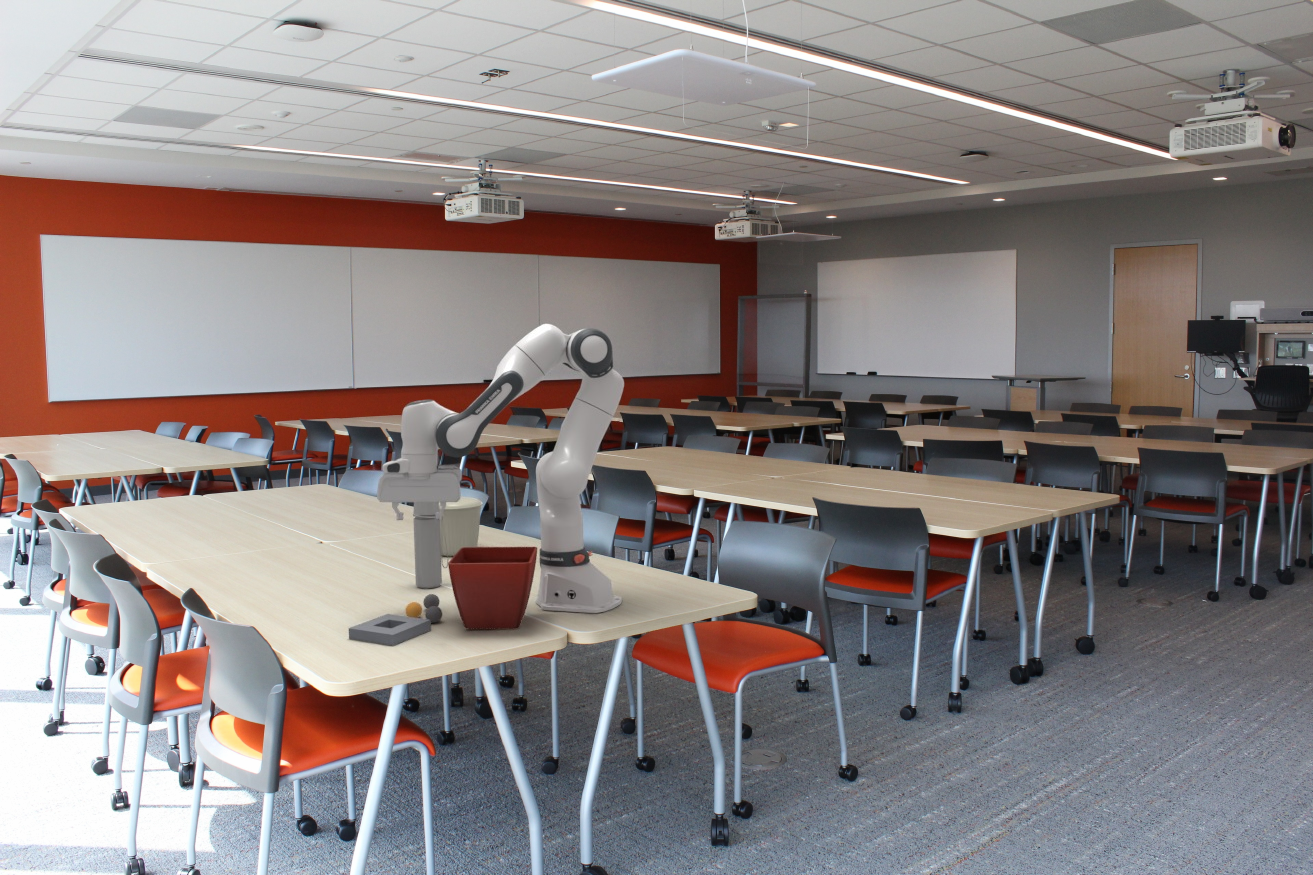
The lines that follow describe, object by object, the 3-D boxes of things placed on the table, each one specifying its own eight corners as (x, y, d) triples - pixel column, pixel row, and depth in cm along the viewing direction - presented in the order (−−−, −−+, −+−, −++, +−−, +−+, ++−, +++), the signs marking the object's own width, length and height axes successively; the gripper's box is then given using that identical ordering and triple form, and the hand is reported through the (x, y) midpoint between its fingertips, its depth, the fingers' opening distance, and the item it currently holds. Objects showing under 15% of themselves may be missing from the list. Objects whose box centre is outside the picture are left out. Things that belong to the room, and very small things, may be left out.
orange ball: (425, 616, 233) (425, 601, 233) (415, 621, 230) (414, 605, 229) (413, 615, 235) (412, 599, 235) (402, 619, 231) (401, 603, 231)
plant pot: (539, 611, 238) (537, 545, 236) (532, 633, 219) (530, 562, 217) (463, 612, 237) (461, 546, 236) (449, 635, 218) (446, 563, 216)
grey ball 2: (445, 621, 229) (445, 605, 229) (435, 625, 226) (434, 609, 225) (432, 619, 231) (432, 603, 231) (422, 623, 228) (421, 607, 227)
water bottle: (415, 590, 260) (412, 500, 258) (415, 583, 267) (412, 496, 265) (449, 587, 262) (447, 499, 260) (448, 581, 270) (445, 495, 268)
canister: (489, 556, 303) (487, 491, 301) (432, 561, 296) (430, 495, 294) (478, 545, 320) (476, 484, 318) (424, 550, 313) (422, 487, 311)
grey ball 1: (443, 608, 241) (442, 593, 241) (432, 612, 237) (432, 596, 237) (430, 606, 243) (430, 591, 242) (420, 610, 239) (419, 595, 239)
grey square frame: (430, 630, 222) (430, 619, 222) (393, 645, 210) (392, 634, 210) (388, 623, 228) (387, 613, 227) (349, 638, 216) (348, 628, 216)
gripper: (462, 463, 239) (462, 517, 240) (379, 463, 236) (379, 517, 237) (461, 466, 233) (461, 521, 234) (375, 466, 230) (376, 522, 231)
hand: (419, 519), depth 236 cm, fingers open, 8 cm apart
